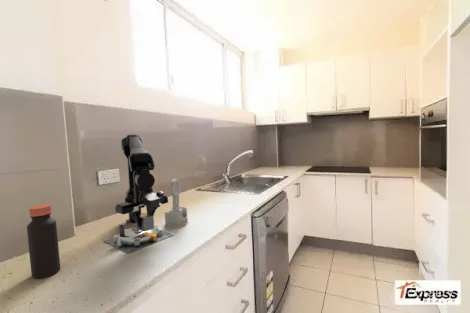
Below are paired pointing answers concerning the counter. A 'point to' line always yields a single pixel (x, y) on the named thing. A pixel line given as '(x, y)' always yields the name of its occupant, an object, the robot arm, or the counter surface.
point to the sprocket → (136, 235)
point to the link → (146, 222)
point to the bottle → (43, 242)
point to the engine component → (176, 208)
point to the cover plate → (133, 248)
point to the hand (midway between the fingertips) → (144, 225)
